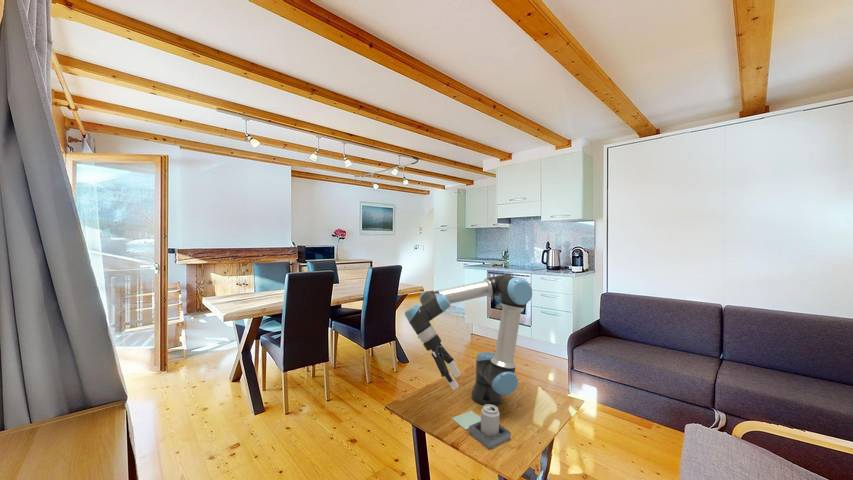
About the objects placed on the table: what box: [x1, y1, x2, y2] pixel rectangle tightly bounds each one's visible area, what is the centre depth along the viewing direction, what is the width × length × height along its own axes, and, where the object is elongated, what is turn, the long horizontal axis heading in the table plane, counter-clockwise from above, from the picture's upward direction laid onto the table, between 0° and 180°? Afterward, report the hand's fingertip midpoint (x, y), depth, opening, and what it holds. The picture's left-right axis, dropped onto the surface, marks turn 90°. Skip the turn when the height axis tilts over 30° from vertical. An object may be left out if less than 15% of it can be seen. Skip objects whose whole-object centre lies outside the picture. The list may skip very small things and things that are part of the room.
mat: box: [451, 410, 481, 431], centre depth 142 cm, size 12×10×1 cm
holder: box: [468, 421, 512, 450], centre depth 131 cm, size 12×12×3 cm
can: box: [480, 404, 501, 438], centre depth 131 cm, size 8×8×12 cm
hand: (457, 381), depth 134 cm, fingers open, 13 cm apart
